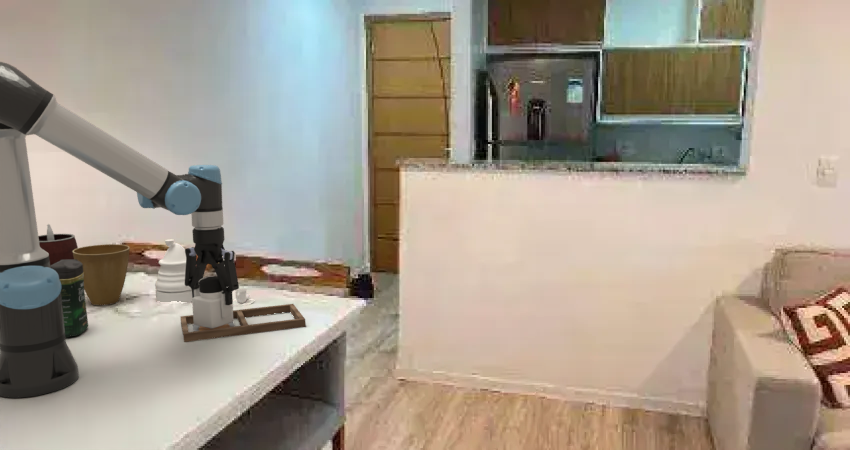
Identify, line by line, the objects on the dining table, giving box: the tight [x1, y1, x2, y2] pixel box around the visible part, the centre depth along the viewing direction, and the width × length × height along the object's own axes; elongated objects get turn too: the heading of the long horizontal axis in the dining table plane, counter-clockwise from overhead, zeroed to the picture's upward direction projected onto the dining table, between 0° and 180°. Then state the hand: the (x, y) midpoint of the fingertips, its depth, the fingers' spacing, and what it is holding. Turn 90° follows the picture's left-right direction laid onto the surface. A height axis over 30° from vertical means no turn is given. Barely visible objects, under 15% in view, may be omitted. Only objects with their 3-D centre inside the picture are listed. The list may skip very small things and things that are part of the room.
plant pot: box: [73, 243, 130, 306], centre depth 195 cm, size 15×15×16 cm
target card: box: [191, 321, 235, 331], centre depth 171 cm, size 10×10×1 cm
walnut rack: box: [179, 303, 306, 343], centre depth 174 cm, size 15×30×2 cm, turn 112°
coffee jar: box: [50, 259, 89, 339], centre depth 167 cm, size 10×8×19 cm
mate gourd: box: [38, 223, 79, 266], centre depth 207 cm, size 16×14×20 cm
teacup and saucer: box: [233, 288, 256, 307], centre depth 195 cm, size 9×8×4 cm
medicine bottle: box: [191, 275, 235, 329], centre depth 170 cm, size 7×7×12 cm
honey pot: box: [154, 238, 192, 304], centre depth 198 cm, size 13×13×18 cm
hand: (213, 314), depth 171 cm, fingers closed on medicine bottle, 8 cm apart
